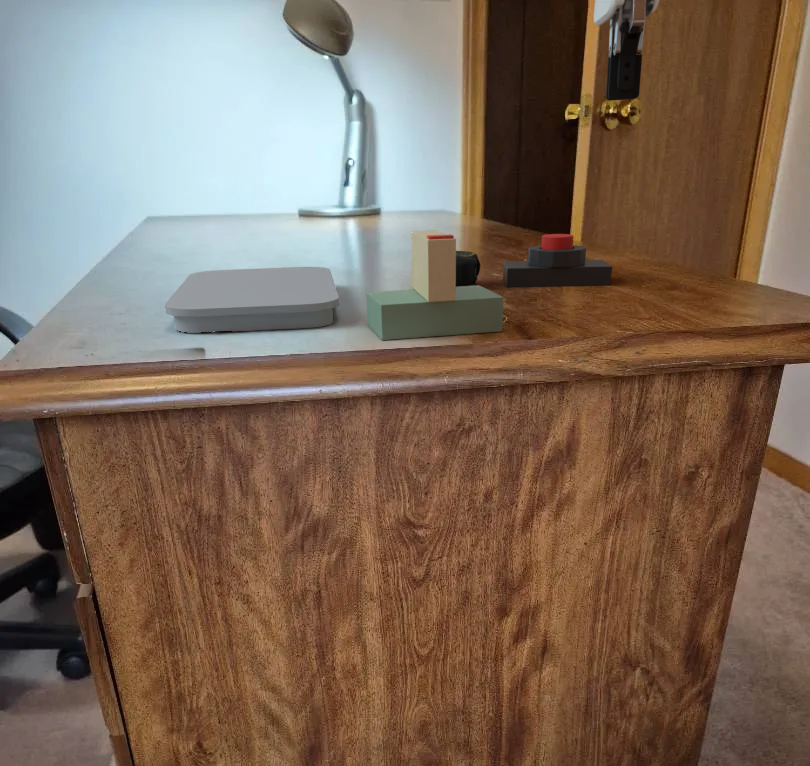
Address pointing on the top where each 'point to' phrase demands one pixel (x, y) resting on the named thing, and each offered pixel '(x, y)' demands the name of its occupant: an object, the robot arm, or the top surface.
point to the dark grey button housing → (556, 269)
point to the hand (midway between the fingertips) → (622, 98)
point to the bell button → (557, 241)
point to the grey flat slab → (254, 300)
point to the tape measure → (467, 268)
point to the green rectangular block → (433, 313)
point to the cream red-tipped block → (434, 265)
